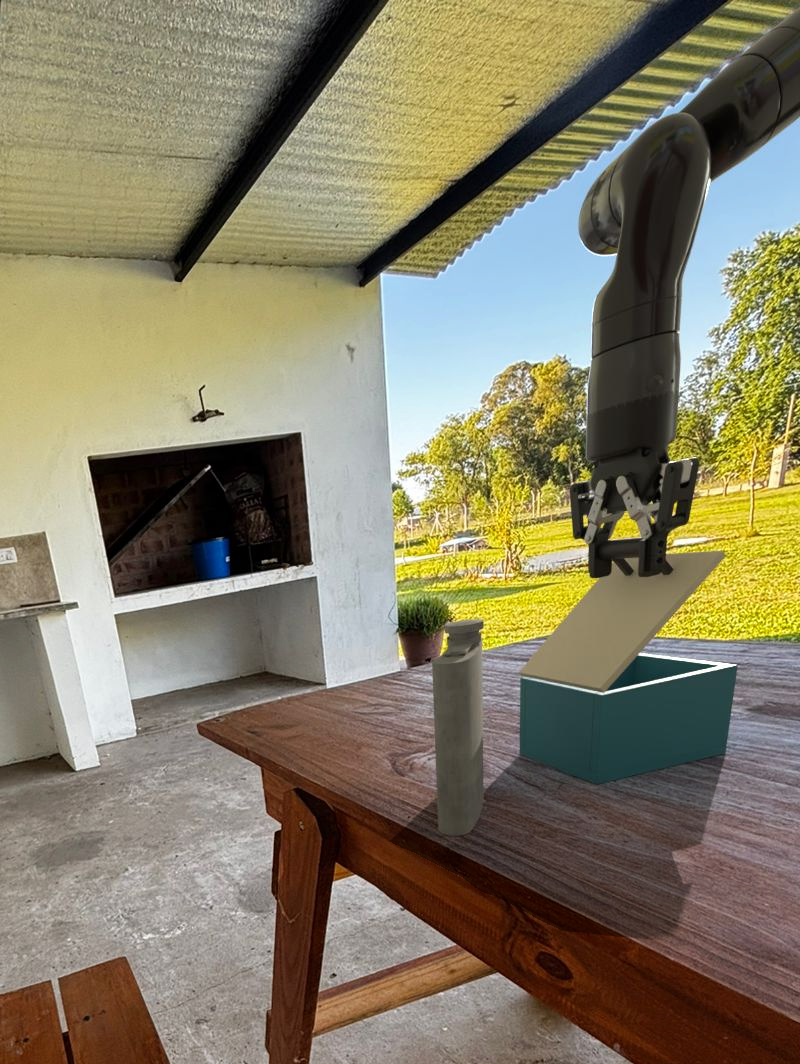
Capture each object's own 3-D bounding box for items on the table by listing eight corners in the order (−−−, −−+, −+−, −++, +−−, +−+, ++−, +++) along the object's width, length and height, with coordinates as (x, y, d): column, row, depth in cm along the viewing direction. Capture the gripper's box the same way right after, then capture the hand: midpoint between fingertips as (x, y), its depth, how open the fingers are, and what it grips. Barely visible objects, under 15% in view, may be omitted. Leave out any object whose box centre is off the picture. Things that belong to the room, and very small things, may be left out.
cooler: (630, 728, 81) (636, 652, 77) (725, 753, 68) (738, 664, 65) (519, 754, 79) (520, 677, 76) (596, 784, 67) (601, 695, 63)
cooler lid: (621, 560, 73) (593, 527, 71) (726, 555, 61) (696, 515, 59) (522, 676, 76) (493, 647, 74) (604, 693, 63) (571, 658, 62)
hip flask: (452, 778, 75) (448, 612, 68) (489, 778, 73) (488, 607, 66) (436, 835, 63) (428, 637, 55) (480, 837, 61) (477, 632, 54)
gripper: (736, 369, 54) (717, 567, 60) (608, 412, 68) (603, 571, 74) (660, 385, 54) (648, 583, 60) (546, 425, 67) (546, 584, 73)
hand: (623, 575), depth 67 cm, fingers closed on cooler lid, 6 cm apart
